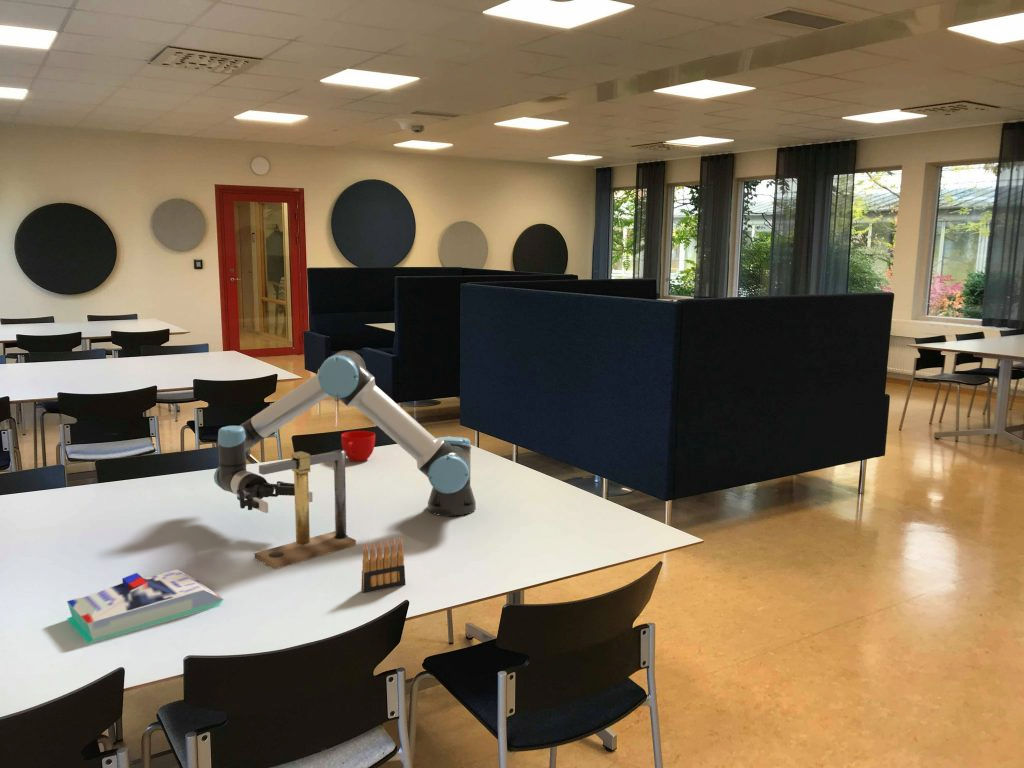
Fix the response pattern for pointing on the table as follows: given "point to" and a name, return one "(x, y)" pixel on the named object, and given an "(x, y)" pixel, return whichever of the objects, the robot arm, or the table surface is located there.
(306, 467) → the brass leg
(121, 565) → the table surface
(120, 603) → the toy car
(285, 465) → the steel frame
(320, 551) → the walnut board
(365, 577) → the ammunition clip
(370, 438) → the ceramic cup
